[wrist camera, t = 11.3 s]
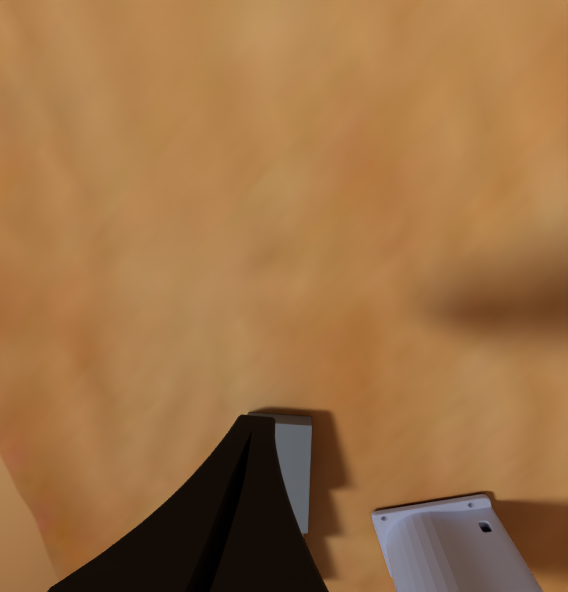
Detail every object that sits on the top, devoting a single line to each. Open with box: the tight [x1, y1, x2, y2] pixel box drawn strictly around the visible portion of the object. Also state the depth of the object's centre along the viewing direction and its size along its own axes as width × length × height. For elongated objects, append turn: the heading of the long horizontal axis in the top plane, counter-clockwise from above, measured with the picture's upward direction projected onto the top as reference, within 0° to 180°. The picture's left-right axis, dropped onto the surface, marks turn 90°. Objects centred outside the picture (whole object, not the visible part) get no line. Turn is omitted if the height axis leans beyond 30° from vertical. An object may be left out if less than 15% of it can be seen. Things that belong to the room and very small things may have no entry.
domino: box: [247, 412, 312, 534], centre depth 23 cm, size 2×5×8 cm
